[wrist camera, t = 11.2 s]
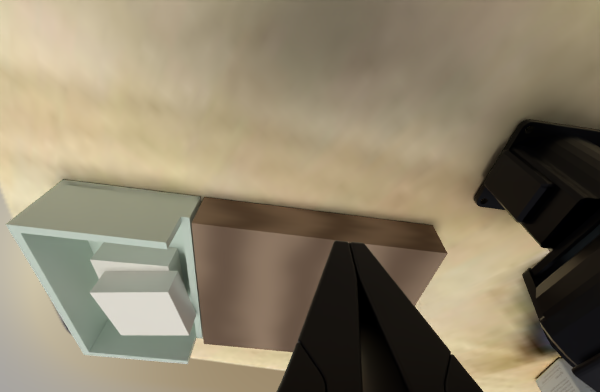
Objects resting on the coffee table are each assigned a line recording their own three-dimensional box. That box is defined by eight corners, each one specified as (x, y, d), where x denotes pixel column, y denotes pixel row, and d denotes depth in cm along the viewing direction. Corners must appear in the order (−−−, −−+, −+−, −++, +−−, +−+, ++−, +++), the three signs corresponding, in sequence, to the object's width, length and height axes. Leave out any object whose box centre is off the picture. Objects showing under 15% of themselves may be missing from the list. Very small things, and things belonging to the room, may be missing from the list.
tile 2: (177, 270, 23) (168, 292, 22) (196, 314, 27) (189, 335, 25) (104, 271, 23) (89, 292, 22) (132, 314, 27) (121, 335, 25)
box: (200, 196, 22) (176, 243, 18) (209, 315, 31) (194, 364, 27) (62, 179, 21) (5, 224, 17) (113, 306, 31) (83, 354, 27)
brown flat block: (432, 225, 23) (447, 253, 21) (374, 332, 32) (380, 360, 30) (204, 197, 22) (191, 223, 20) (212, 315, 31) (203, 343, 29)
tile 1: (177, 247, 25) (168, 266, 23) (186, 291, 28) (178, 310, 26) (104, 241, 24) (89, 259, 23) (122, 286, 28) (111, 305, 26)
